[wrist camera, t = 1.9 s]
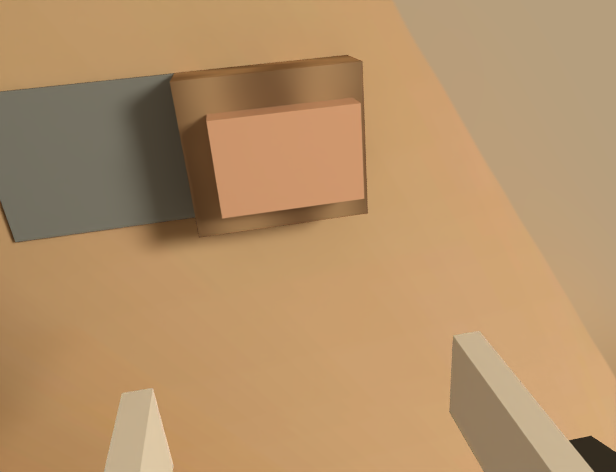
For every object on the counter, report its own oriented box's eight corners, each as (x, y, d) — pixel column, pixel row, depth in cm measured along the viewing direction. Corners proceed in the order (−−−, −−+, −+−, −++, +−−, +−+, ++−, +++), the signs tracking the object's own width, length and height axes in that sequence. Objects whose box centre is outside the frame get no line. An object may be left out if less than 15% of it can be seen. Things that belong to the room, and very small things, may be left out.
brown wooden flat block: (200, 215, 38) (199, 237, 34) (174, 73, 34) (169, 81, 30) (353, 193, 39) (367, 213, 36) (346, 55, 35) (362, 61, 31)
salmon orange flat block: (221, 206, 34) (222, 218, 32) (206, 114, 31) (206, 121, 29) (356, 188, 35) (364, 198, 33) (352, 97, 32) (360, 103, 30)
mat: (16, 240, 36) (15, 242, 36) (-35, 95, 32) (-37, 95, 32) (203, 214, 38) (203, 216, 38) (177, 72, 34) (177, 73, 33)
